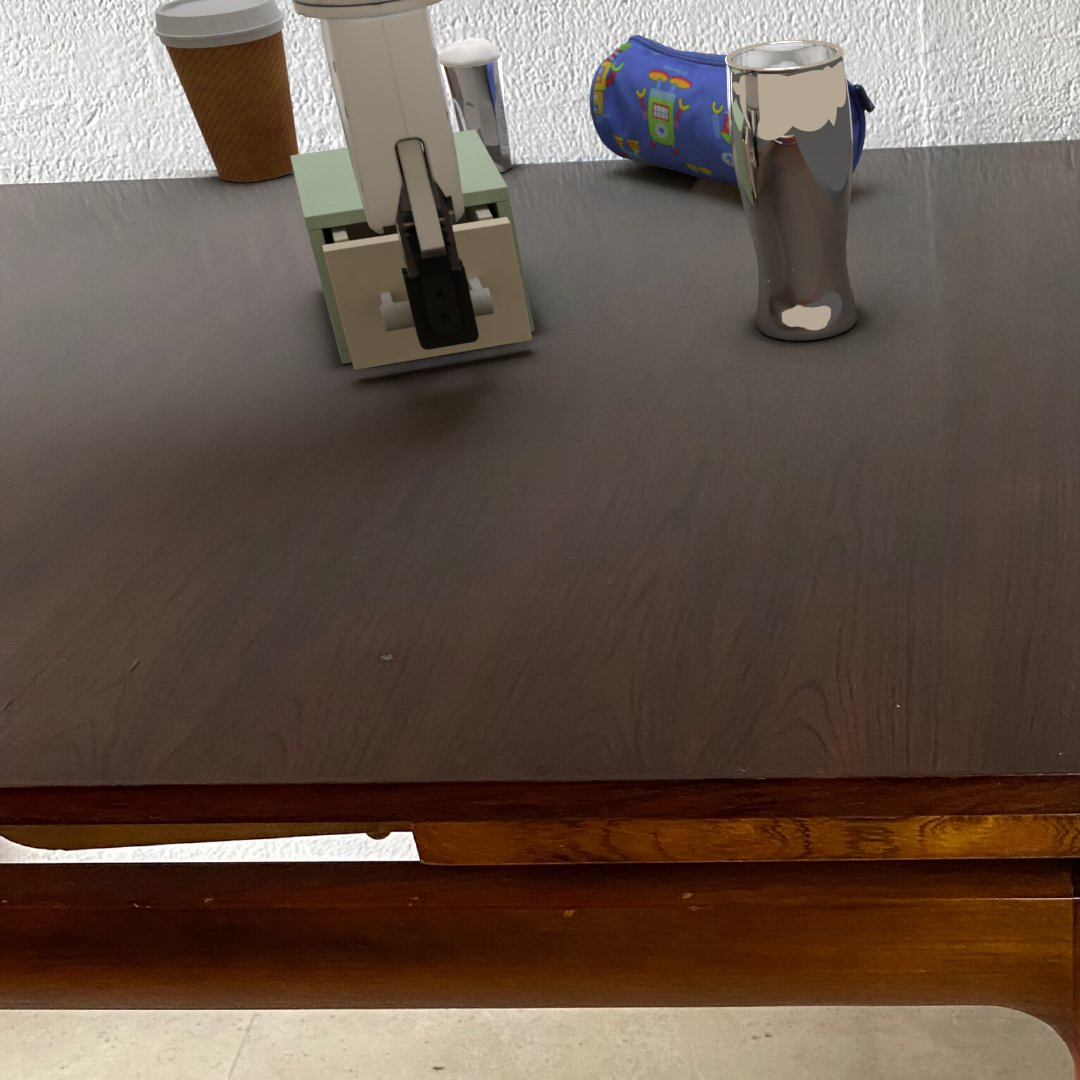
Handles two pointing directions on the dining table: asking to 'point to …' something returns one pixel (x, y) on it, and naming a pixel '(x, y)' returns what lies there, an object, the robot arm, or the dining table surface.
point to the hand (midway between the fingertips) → (448, 340)
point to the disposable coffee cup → (234, 82)
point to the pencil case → (678, 109)
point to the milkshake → (478, 94)
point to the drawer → (381, 298)
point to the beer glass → (795, 181)
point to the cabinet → (338, 203)
